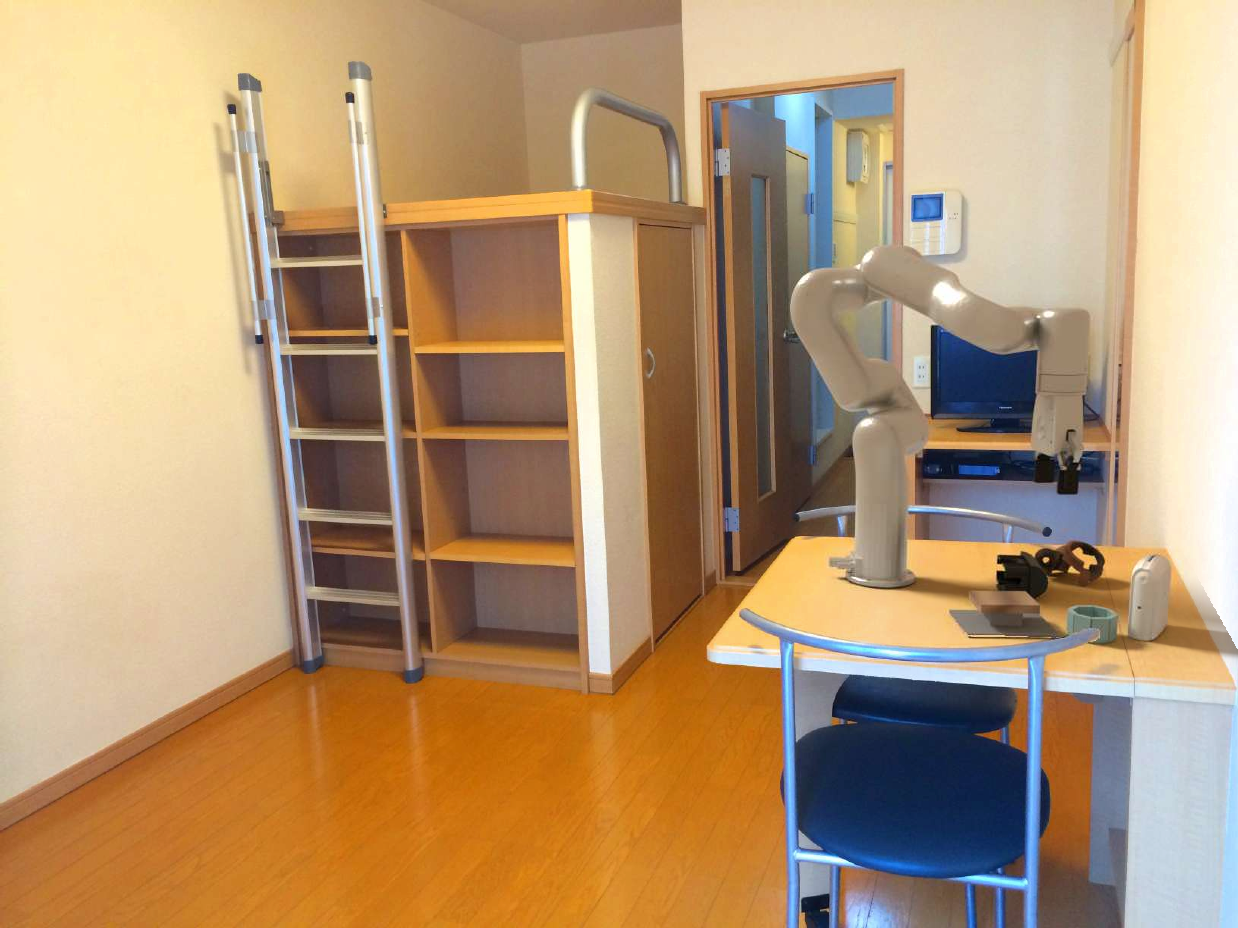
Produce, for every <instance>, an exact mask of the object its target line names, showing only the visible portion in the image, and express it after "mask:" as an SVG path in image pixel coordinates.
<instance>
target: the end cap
mask: <svg viewBox="0 0 1238 928" xmlns="http://www.w3.org/2000/svg"><path fill="white" fill-rule="evenodd" d="M996 565H1002V567H1003V569H1004V570H997V569H996V571H995V572H996V573H995V579H996V582H997V583H996V585H995V586H996V587H995V588H996V590H997V591H1026V592H1027V593H1028V594H1029V595H1030V596H1031V597H1032V598H1033V599H1034V600H1035V601H1036V600H1037V599H1038V598H1040V597H1042V596H1043V595H1044V594H1045V593H1046V592H1047V590H1048V587H1049V583H1050V582H1049V578H1048V577H1049V576H1047V575H1046V573H1045V571H1044V570H1043V569H1042V567H1041V566H1040V565H1039V563H1038V562H1037V560H1036V559H1035V556H1034V555H1032V554H1031V553H1029V552H1026V551H1024V550H1023V551H1022V550H1021V551H1020V554H997V556H996Z"/></svg>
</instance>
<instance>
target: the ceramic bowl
mask: <svg viewBox="0 0 1238 928" xmlns="http://www.w3.org/2000/svg"><path fill="white" fill-rule="evenodd" d="M1118 619H1119V614H1118V613H1117V612H1115V611H1114V610H1113V609H1111V608H1107V607H1102V606H1098V605H1093V604H1092V605H1091V604H1089V605H1085V604H1084V605H1082V604H1079V605H1078V604H1077V605H1073V606H1071V607H1069V608H1067V617H1066V631H1067V635H1069V634H1072V633H1075V632H1079V631H1081V630H1083V629H1088V628H1096V629H1099V631H1100V638H1098V639H1097V640H1096V641H1093V642H1091V643H1090V644H1093V645H1095V644H1096V645H1105V644H1111V643H1113V642H1115V640H1116V639H1115V638H1116V637H1117V634H1118V633H1117V632H1118V622H1119V621H1118Z"/></svg>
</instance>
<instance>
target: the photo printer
mask: <svg viewBox="0 0 1238 928" xmlns="http://www.w3.org/2000/svg"><path fill="white" fill-rule="evenodd" d="M1171 574H1172V565H1171V562H1170V560H1169V559H1168V557H1166V556H1165V555H1163V554H1157V553H1152V552H1151V553H1149V554H1147V555H1145V556H1143V557H1142V558H1140V559H1139V560H1138V562H1137V563H1136V564H1135V566H1134V567H1133V570H1132V573H1131V576H1130V591H1129V607H1128V621H1127V635H1128V637H1130V638H1131V639H1133V640H1137V641H1143V642H1148V641H1153V640H1155V639H1156V638H1157V637H1159V635H1160V634H1161V633H1163V630H1164V629H1165V628H1166V626H1167V623H1168V616H1169V615H1168V614H1169V606H1170V605H1169V604H1170V593H1171V591H1170V590H1171V578H1172V577H1171V576H1172V575H1171Z"/></svg>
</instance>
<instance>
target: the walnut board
mask: <svg viewBox="0 0 1238 928" xmlns="http://www.w3.org/2000/svg"><path fill="white" fill-rule="evenodd" d="M968 600H969V601H970V602H971V604H973V606H974V608H976V610H979V612H980V613H1008V614H1041V604H1040V603H1039V602H1038V601H1037V600H1036V599H1035V600H1034V599H1033V598H1032V597H1031V596H1030V595H1029V594H1028V593H1027V592H1026V591H998V590H969V591H968Z"/></svg>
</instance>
